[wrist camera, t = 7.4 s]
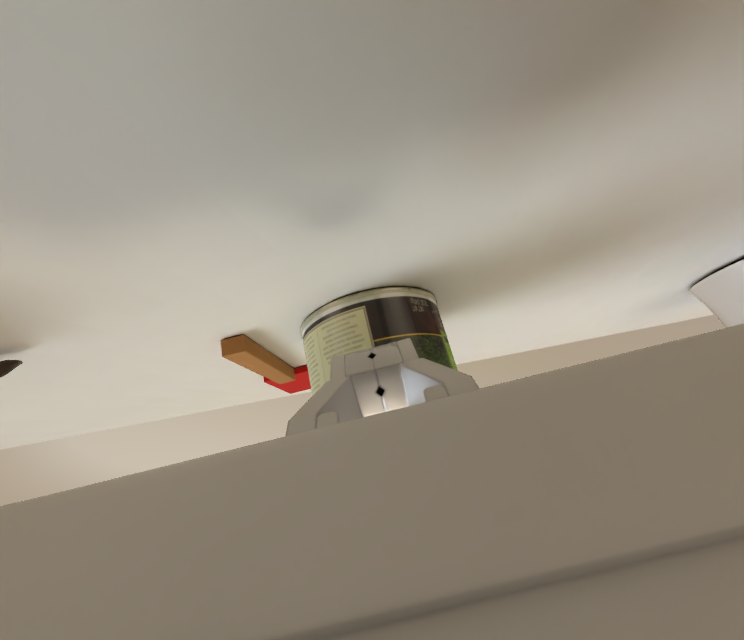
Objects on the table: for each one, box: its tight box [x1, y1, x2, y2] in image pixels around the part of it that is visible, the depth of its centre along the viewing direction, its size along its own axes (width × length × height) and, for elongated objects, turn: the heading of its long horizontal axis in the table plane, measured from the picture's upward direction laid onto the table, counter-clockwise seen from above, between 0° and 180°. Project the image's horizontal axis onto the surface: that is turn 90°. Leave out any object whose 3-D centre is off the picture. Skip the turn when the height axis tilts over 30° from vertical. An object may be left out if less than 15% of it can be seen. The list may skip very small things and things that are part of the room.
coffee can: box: [301, 287, 458, 396], centre depth 23 cm, size 10×10×14 cm
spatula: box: [221, 335, 311, 394], centre depth 31 cm, size 4×19×1 cm, turn 6°
